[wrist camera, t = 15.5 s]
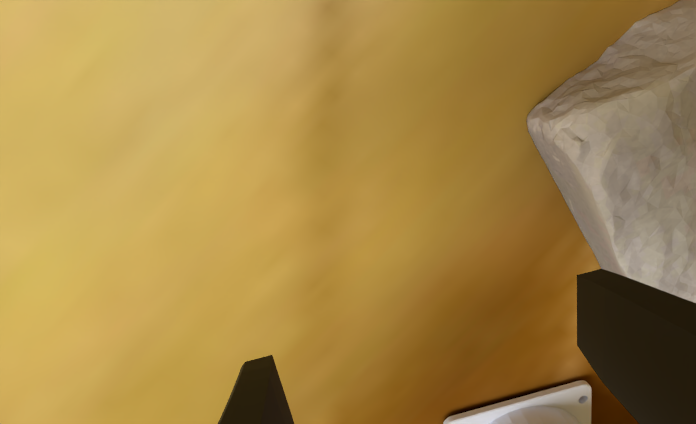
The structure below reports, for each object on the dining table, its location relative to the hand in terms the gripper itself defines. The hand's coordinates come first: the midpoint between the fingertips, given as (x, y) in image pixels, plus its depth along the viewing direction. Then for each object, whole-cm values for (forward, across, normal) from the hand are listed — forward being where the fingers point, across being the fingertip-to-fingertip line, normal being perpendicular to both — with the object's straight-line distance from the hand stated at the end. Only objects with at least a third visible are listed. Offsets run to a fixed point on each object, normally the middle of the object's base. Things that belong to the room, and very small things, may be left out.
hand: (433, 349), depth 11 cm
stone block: (+10, -14, +1) cm, 17 cm away
